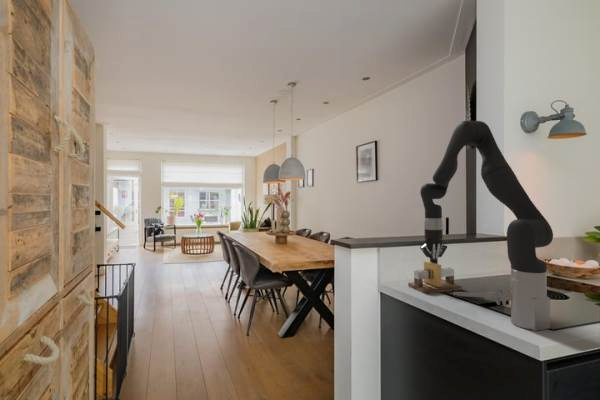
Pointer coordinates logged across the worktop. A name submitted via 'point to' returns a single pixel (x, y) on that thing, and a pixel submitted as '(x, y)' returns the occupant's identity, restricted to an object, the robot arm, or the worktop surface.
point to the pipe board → (429, 288)
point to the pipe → (429, 273)
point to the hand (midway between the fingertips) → (433, 266)
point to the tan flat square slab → (436, 273)
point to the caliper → (487, 296)
